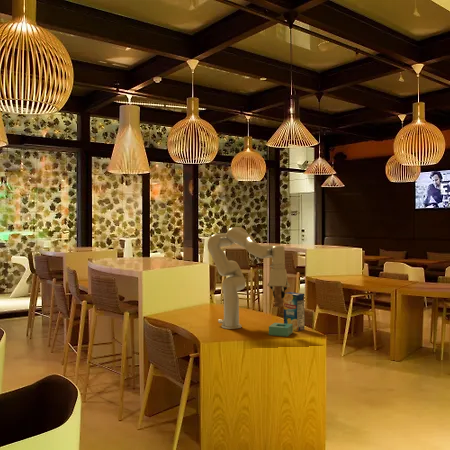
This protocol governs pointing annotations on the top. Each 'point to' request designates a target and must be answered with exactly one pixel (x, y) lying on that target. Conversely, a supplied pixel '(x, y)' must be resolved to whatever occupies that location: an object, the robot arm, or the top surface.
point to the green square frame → (280, 329)
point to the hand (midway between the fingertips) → (278, 297)
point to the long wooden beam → (278, 296)
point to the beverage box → (294, 310)
